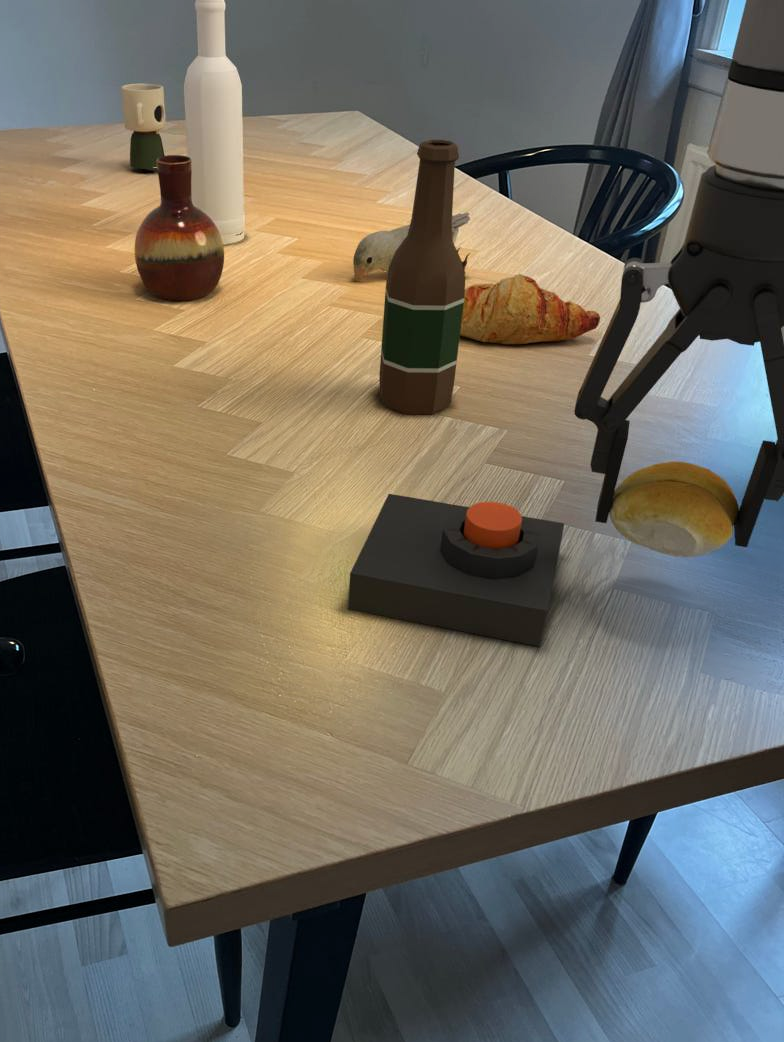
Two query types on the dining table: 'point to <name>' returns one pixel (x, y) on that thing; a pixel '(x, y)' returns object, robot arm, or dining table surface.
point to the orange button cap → (492, 525)
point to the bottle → (215, 125)
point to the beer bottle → (424, 295)
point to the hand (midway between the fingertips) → (670, 524)
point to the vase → (178, 239)
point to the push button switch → (455, 572)
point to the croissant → (521, 313)
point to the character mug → (144, 123)
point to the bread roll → (675, 509)
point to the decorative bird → (391, 247)
